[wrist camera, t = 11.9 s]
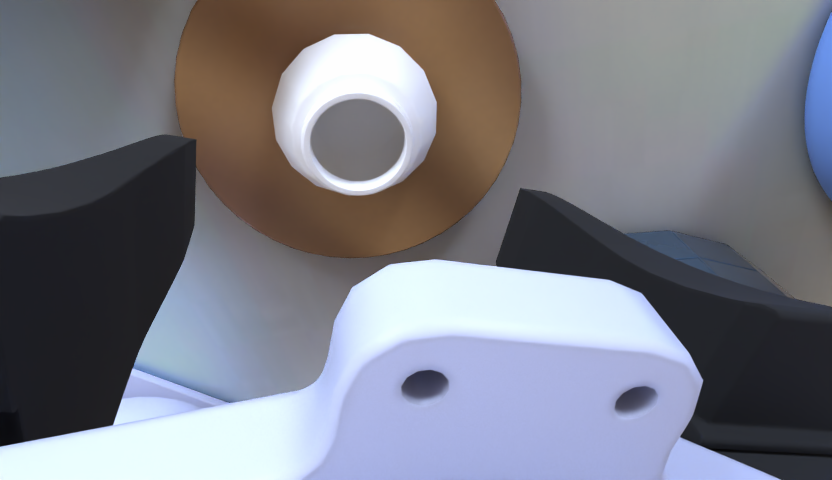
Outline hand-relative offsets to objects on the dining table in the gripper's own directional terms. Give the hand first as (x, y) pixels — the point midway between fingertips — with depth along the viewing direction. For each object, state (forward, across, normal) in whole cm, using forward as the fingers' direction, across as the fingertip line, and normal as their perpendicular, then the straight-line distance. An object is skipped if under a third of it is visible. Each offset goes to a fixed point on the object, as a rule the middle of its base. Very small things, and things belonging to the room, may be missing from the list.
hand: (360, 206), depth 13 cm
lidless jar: (+7, 0, 0) cm, 7 cm away
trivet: (+7, 0, 0) cm, 7 cm away
